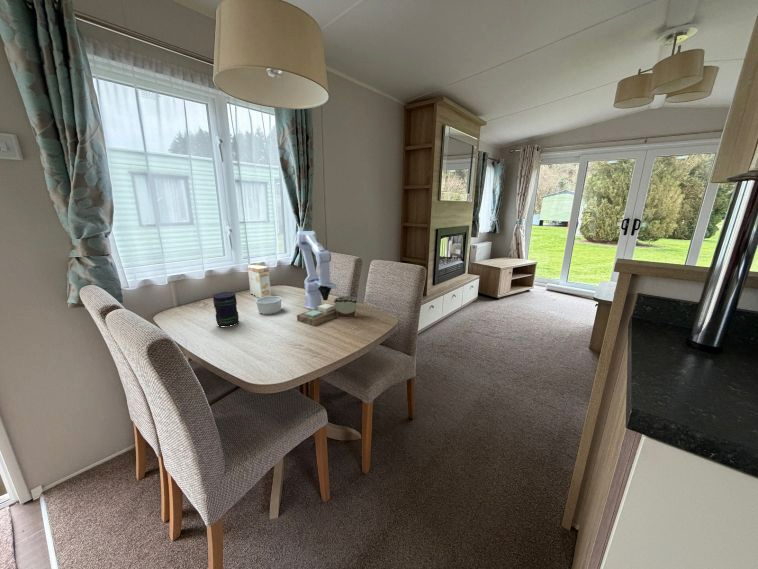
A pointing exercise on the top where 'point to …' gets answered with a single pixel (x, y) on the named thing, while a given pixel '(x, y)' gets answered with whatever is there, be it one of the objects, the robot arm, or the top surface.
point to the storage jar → (226, 308)
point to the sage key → (313, 313)
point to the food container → (345, 307)
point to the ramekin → (269, 304)
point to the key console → (317, 317)
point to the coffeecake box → (259, 280)
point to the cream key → (326, 307)
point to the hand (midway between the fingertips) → (325, 299)
